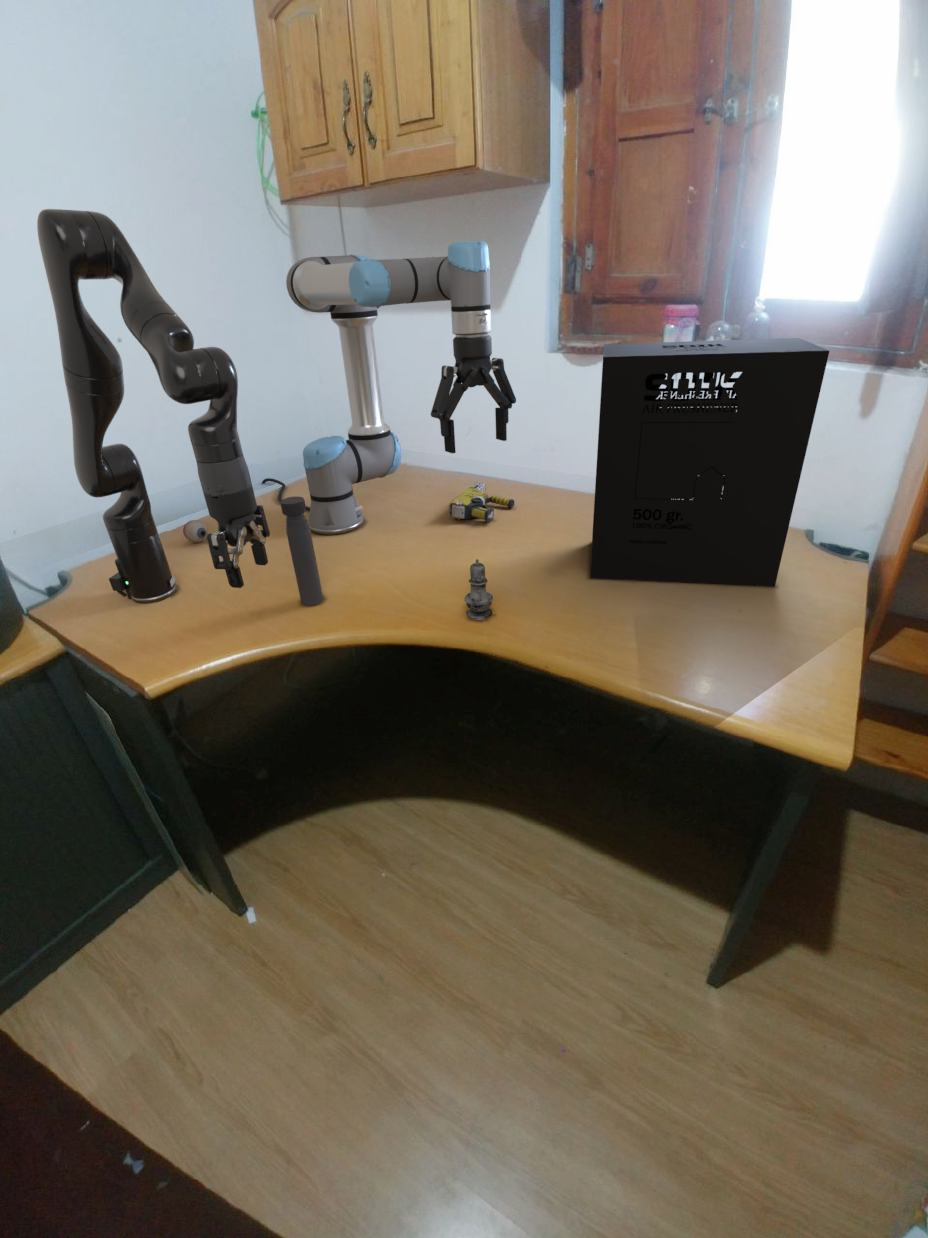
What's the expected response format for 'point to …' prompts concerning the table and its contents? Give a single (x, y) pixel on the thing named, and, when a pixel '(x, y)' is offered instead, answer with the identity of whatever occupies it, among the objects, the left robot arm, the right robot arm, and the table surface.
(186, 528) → the eyeball
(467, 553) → the table surface
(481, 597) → the grey chess piece
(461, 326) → the right robot arm
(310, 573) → the bottle
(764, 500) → the cardboard box
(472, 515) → the toy gun
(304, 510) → the cap
